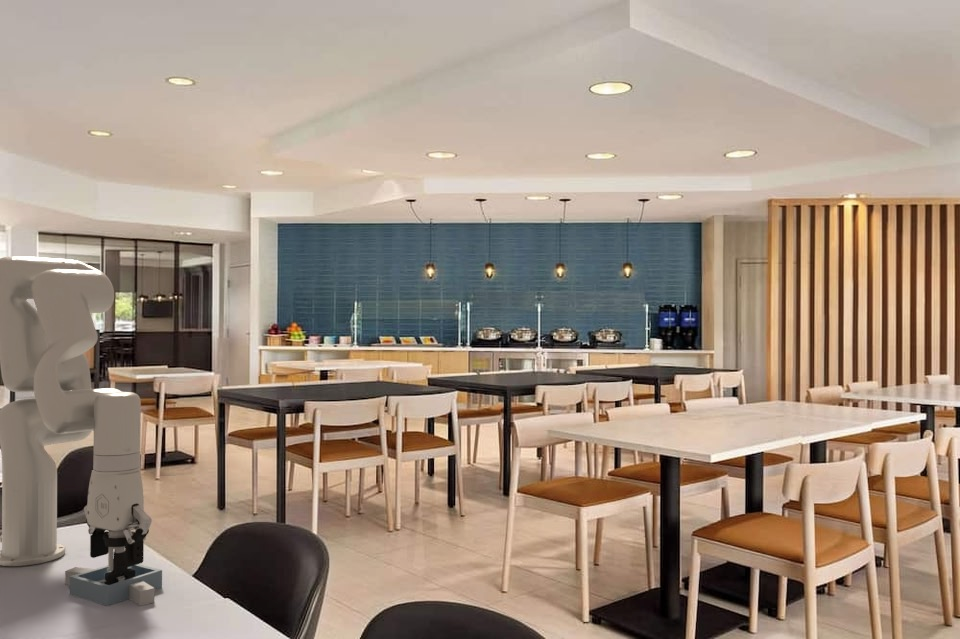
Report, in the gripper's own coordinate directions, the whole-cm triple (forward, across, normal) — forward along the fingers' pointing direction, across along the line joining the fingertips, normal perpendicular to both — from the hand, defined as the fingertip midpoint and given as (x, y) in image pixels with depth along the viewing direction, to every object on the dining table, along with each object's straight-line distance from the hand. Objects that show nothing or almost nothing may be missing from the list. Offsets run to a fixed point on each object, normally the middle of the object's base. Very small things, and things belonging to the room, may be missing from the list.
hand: (116, 560), depth 138 cm
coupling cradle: (+5, 0, 0) cm, 5 cm away
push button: (+5, 0, 0) cm, 5 cm away
